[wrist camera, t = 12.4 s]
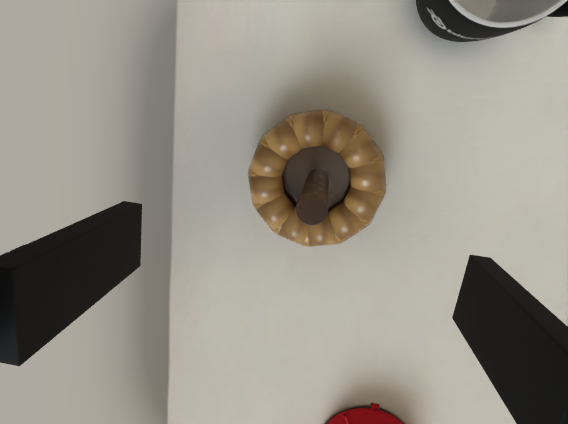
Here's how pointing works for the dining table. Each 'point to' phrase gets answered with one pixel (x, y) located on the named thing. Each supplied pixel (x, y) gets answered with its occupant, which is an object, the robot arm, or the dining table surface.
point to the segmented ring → (331, 135)
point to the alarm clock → (365, 416)
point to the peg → (316, 183)
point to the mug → (484, 16)
